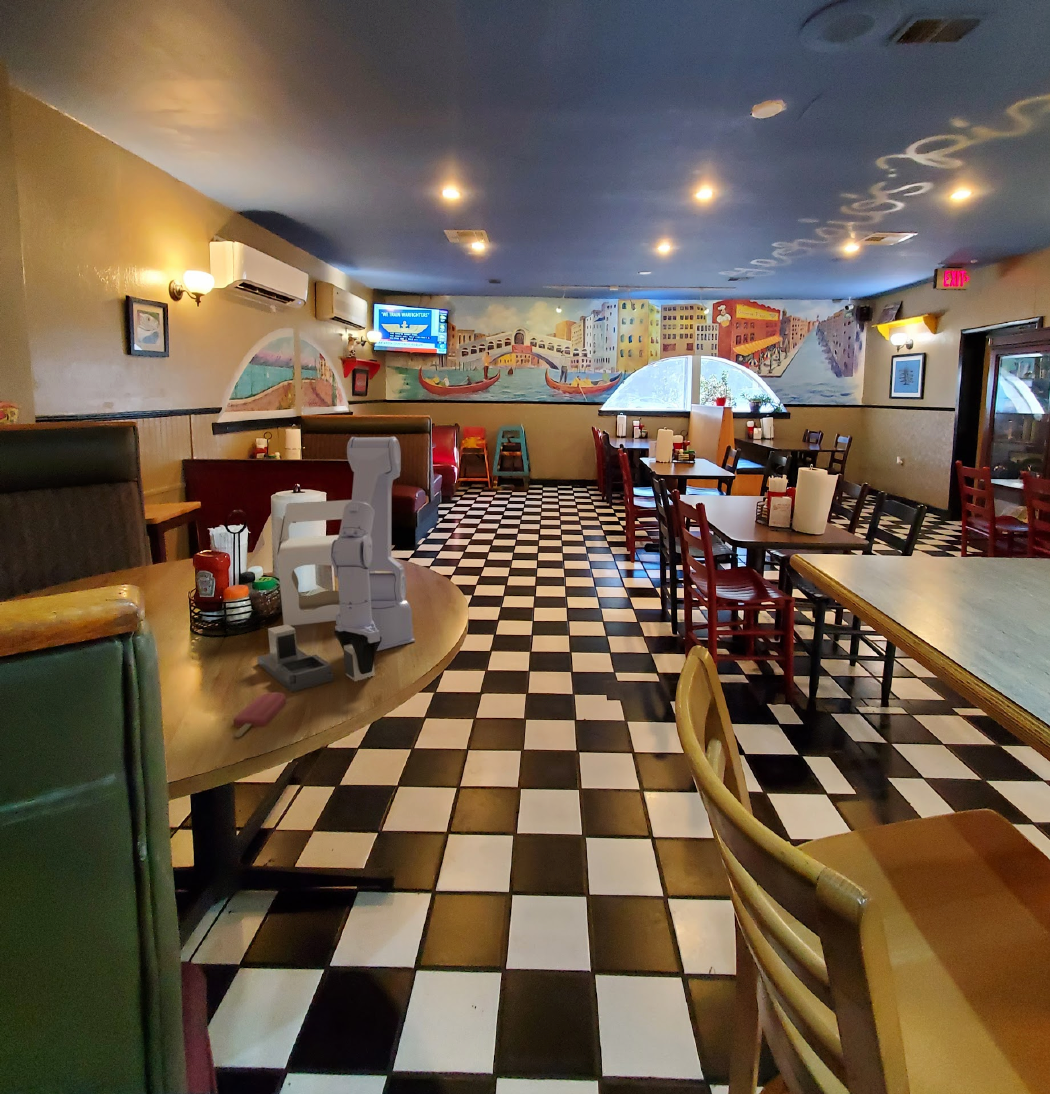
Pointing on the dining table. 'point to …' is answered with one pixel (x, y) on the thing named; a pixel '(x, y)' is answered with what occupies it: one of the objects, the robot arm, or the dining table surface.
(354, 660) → the block
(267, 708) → the popsicle
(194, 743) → the dining table surface
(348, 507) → the robot arm
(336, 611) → the gable box
